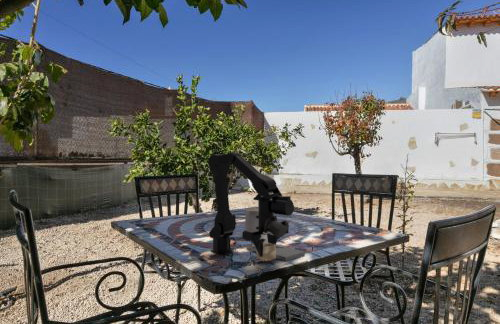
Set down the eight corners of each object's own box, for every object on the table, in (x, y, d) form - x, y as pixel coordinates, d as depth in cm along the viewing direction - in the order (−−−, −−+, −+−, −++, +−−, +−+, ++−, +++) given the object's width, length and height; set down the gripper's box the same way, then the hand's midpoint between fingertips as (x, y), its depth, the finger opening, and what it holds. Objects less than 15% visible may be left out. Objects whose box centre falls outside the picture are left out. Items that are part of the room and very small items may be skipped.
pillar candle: (255, 234, 178) (255, 203, 177) (270, 237, 171) (269, 205, 170) (241, 237, 171) (240, 206, 171) (255, 241, 164) (255, 208, 164)
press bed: (285, 261, 133) (285, 256, 133) (245, 249, 150) (245, 245, 150) (304, 255, 140) (304, 251, 140) (264, 244, 157) (264, 240, 157)
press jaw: (257, 247, 145) (256, 235, 145) (252, 246, 147) (252, 233, 147) (274, 243, 152) (274, 231, 152) (269, 241, 154) (269, 230, 154)
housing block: (266, 260, 129) (266, 247, 129) (256, 257, 133) (256, 244, 132) (275, 258, 132) (275, 244, 132) (266, 255, 136) (266, 242, 136)
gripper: (262, 219, 120) (262, 265, 120) (299, 212, 132) (299, 254, 133) (241, 214, 128) (241, 258, 129) (277, 209, 140) (277, 249, 141)
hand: (266, 255), depth 132 cm, fingers closed on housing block, 5 cm apart
